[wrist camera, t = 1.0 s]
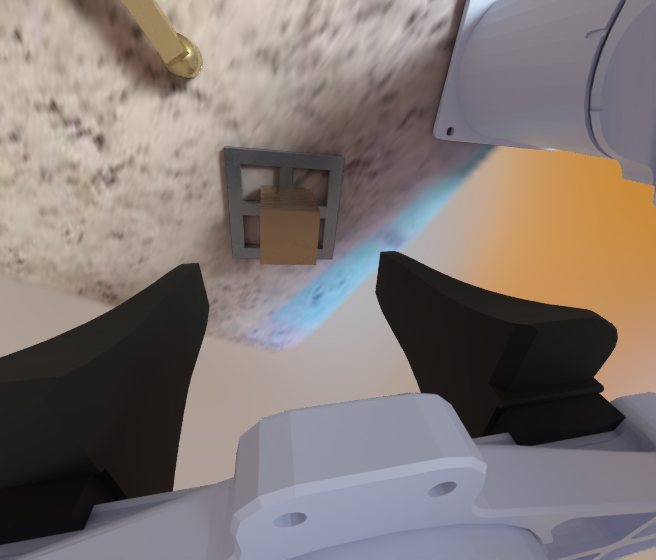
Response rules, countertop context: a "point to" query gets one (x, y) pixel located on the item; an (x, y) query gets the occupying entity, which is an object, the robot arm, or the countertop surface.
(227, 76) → the countertop surface
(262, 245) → the grey window frame
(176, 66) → the brass bent rod
